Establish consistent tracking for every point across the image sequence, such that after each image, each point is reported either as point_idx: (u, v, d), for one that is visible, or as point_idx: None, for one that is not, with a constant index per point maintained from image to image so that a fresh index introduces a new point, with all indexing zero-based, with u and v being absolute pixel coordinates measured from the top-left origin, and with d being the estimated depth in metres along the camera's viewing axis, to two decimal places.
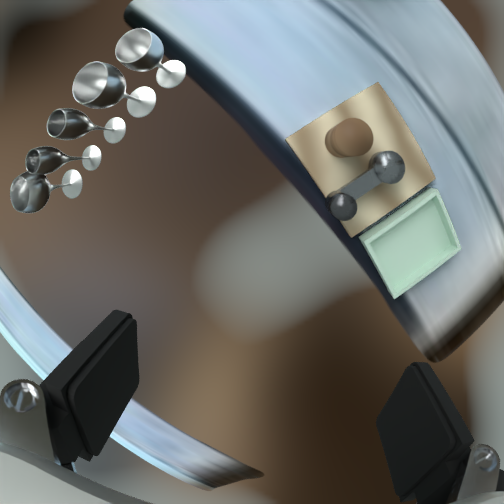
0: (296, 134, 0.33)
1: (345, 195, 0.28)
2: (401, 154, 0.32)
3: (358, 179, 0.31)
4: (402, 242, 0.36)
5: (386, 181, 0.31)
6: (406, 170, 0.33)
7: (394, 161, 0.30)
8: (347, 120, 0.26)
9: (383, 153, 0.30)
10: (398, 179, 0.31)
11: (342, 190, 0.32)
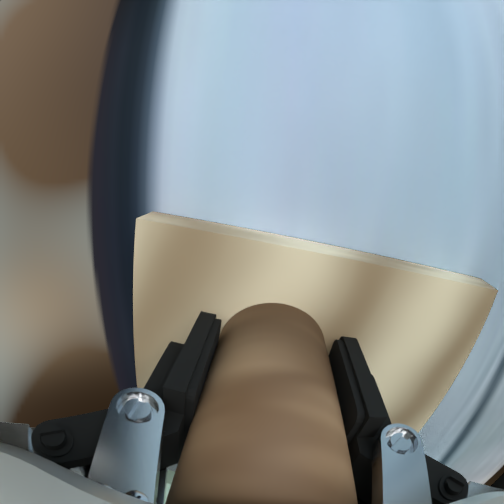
0: (173, 233, 0.09)
1: None
2: None
3: None
4: None
5: None
6: None
7: None
8: (298, 503, 0.03)
9: None
10: None
11: None
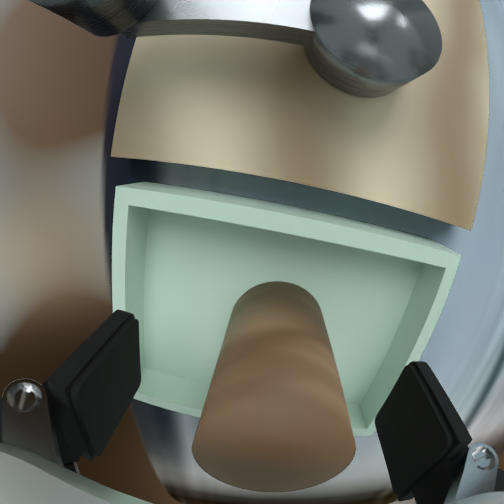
0: None
1: None
2: (435, 82, 0.08)
3: None
4: None
5: (328, 31, 0.06)
6: (419, 126, 0.09)
7: (408, 19, 0.05)
8: (305, 421, 0.05)
9: None
10: (382, 67, 0.06)
11: None
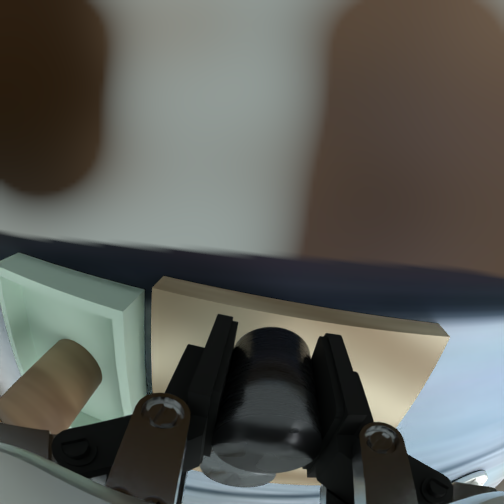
0: (435, 359, 0.12)
1: (296, 466, 0.06)
2: None
3: None
4: None
5: None
6: None
7: (241, 479, 0.12)
8: None
9: (271, 477, 0.12)
10: (204, 466, 0.12)
11: None
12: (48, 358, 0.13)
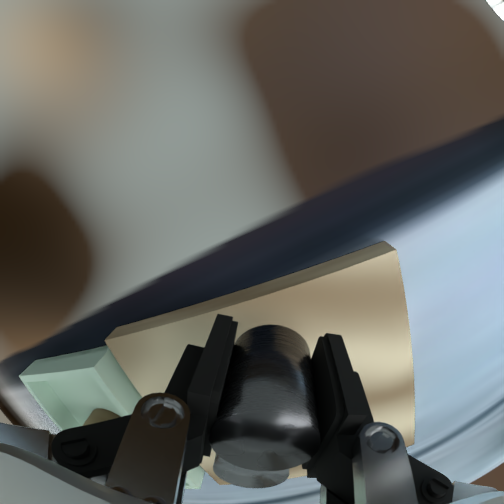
0: (396, 282, 0.11)
1: (297, 463, 0.06)
2: None
3: None
4: None
5: None
6: None
7: (255, 480, 0.12)
8: None
9: (285, 476, 0.12)
10: (217, 469, 0.12)
11: None
12: None
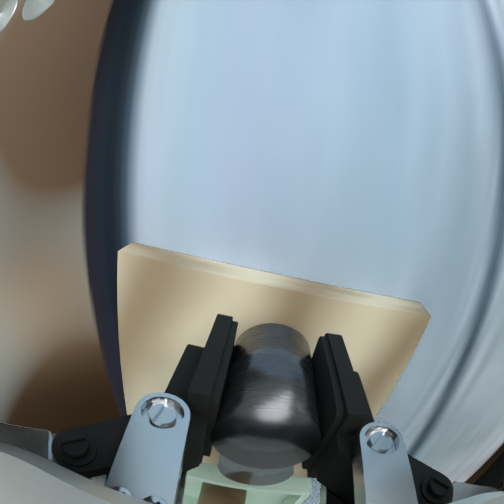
0: (144, 263, 0.12)
1: (299, 460, 0.06)
2: None
3: None
4: None
5: None
6: None
7: (260, 477, 0.12)
8: None
9: (290, 473, 0.12)
10: (222, 468, 0.12)
11: None
12: None
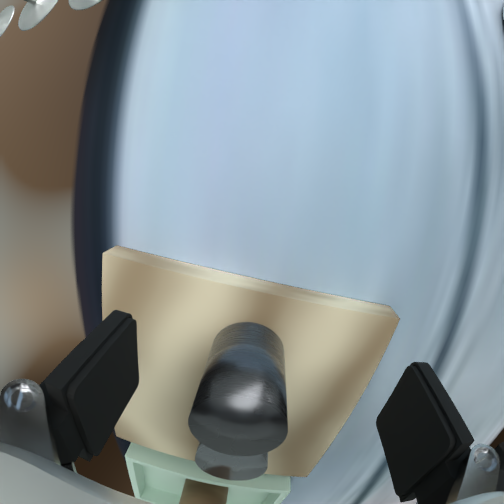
0: (126, 265, 0.13)
1: (268, 448, 0.07)
2: (289, 436, 0.15)
3: None
4: None
5: (211, 449, 0.12)
6: (272, 452, 0.16)
7: (235, 472, 0.13)
8: None
9: (263, 469, 0.13)
10: (199, 460, 0.13)
11: None
12: None
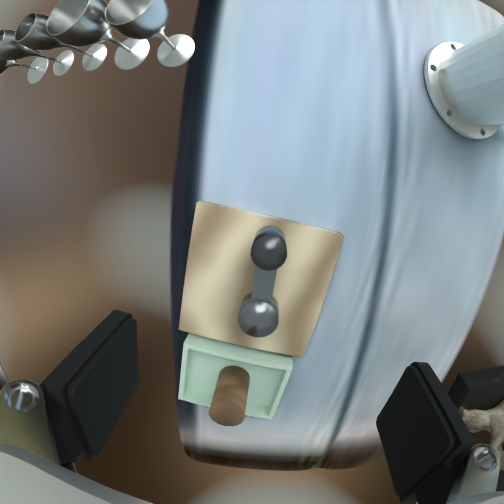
0: (209, 208, 0.28)
1: (280, 264, 0.22)
2: (290, 313, 0.31)
3: (273, 280, 0.27)
4: None
5: (248, 306, 0.28)
6: (280, 329, 0.32)
7: (260, 328, 0.28)
8: (231, 406, 0.28)
9: (276, 323, 0.28)
10: (240, 318, 0.28)
11: None
12: None
